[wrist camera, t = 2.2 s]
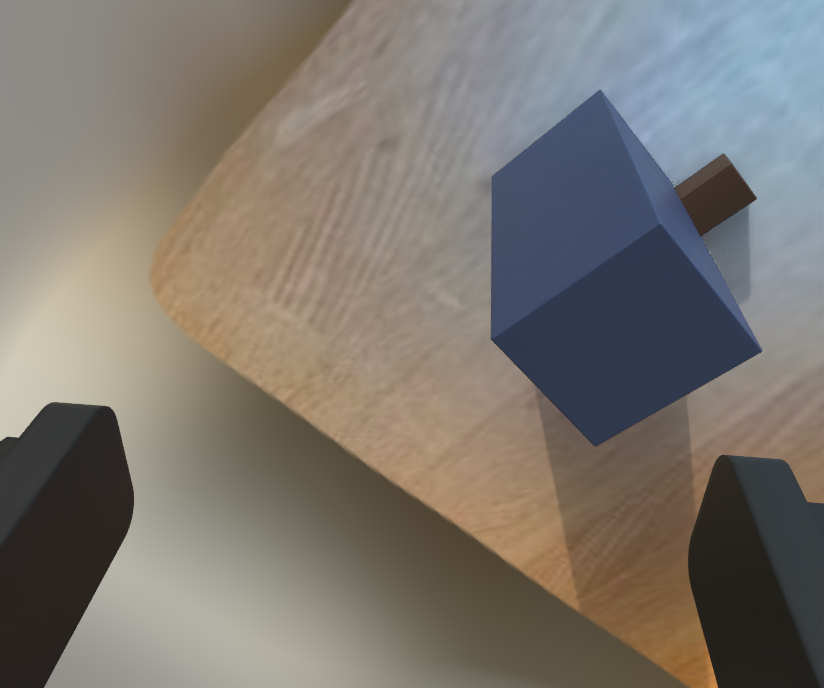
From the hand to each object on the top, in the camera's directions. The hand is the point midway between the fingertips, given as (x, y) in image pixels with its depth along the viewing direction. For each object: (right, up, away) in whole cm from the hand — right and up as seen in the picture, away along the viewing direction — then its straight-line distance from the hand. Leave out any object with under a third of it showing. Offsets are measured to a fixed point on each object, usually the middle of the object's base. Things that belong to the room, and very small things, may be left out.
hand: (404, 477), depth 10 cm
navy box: (+7, +9, +22) cm, 24 cm away
